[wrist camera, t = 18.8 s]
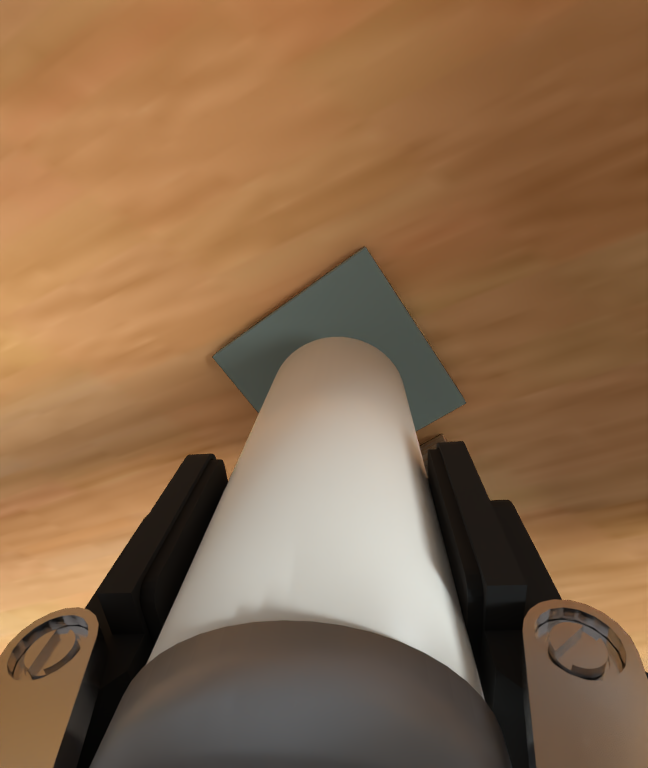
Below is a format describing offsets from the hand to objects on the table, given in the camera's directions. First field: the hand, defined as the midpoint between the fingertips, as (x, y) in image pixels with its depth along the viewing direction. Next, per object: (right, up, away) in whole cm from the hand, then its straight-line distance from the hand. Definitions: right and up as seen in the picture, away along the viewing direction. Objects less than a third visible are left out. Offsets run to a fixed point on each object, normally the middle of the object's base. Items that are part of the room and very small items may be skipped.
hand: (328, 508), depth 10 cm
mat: (+1, +3, +8) cm, 8 cm away
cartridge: (0, +2, +5) cm, 6 cm away
